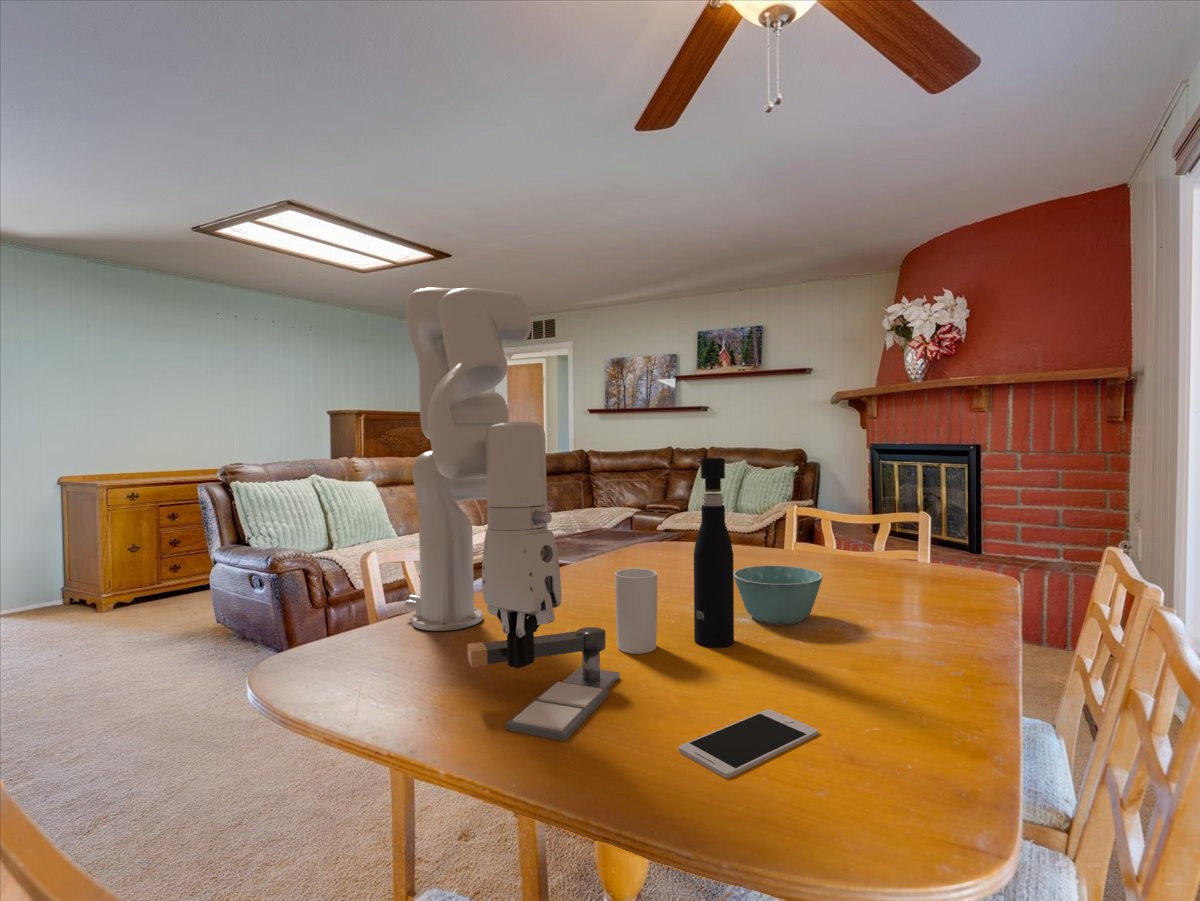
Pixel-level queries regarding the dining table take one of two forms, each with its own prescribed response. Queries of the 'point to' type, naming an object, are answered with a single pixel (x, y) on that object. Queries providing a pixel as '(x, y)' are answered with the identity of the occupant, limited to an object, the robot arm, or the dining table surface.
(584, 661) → the pivot post base
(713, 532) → the black bottle
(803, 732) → the smartphone
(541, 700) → the label tile
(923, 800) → the dining table surface
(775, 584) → the bowl
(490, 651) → the swing arm
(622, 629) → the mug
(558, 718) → the label tile
